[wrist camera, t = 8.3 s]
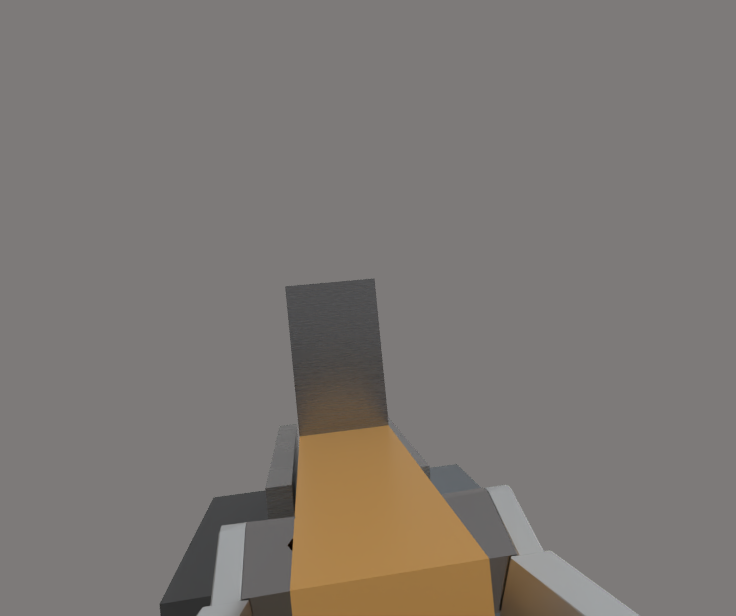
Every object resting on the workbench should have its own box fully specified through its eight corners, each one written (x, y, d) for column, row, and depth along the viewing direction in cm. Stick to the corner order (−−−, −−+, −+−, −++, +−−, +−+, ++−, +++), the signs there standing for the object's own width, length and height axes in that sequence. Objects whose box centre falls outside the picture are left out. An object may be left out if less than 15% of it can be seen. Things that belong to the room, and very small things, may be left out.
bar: (309, 799, 7) (256, 245, 7) (308, 459, 25) (292, 296, 25) (509, 757, 8) (457, 230, 8) (368, 451, 25) (352, 291, 25)
